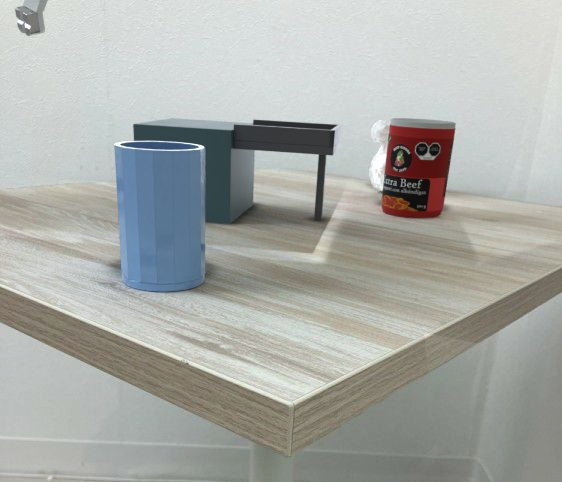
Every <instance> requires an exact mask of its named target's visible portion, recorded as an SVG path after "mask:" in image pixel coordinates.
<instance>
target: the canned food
mask: <svg viewBox="0 0 562 482" xmlns="http://www.w3.org/2000/svg"><path fill="white" fill-rule="evenodd" d="M390 119H391V123H390V128H389V136H388V145H387V154H386V164H385V173H384V182H383V191H381V200H380V201H381V202H380V203H381V204H380V205H381V210H382V212H384V214H387V215H390V216H394V217H400V218H407V219H409V218H410V219H432V218H433V219H434V218H437V217H439V216H441V214H442V212H443V210H444V207H445V198H446V193H447V186H448V182H449V181H448V180H449V173H450V167H451V161H452V155H453V149H454V141H455V133H456V122H454V121H449V120H442V119H441V120H440V119H428V118H427V119H426V118H409V117H407V118H406V117H404V118H402V117H401V118H400V117H395V118H390Z"/></svg>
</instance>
